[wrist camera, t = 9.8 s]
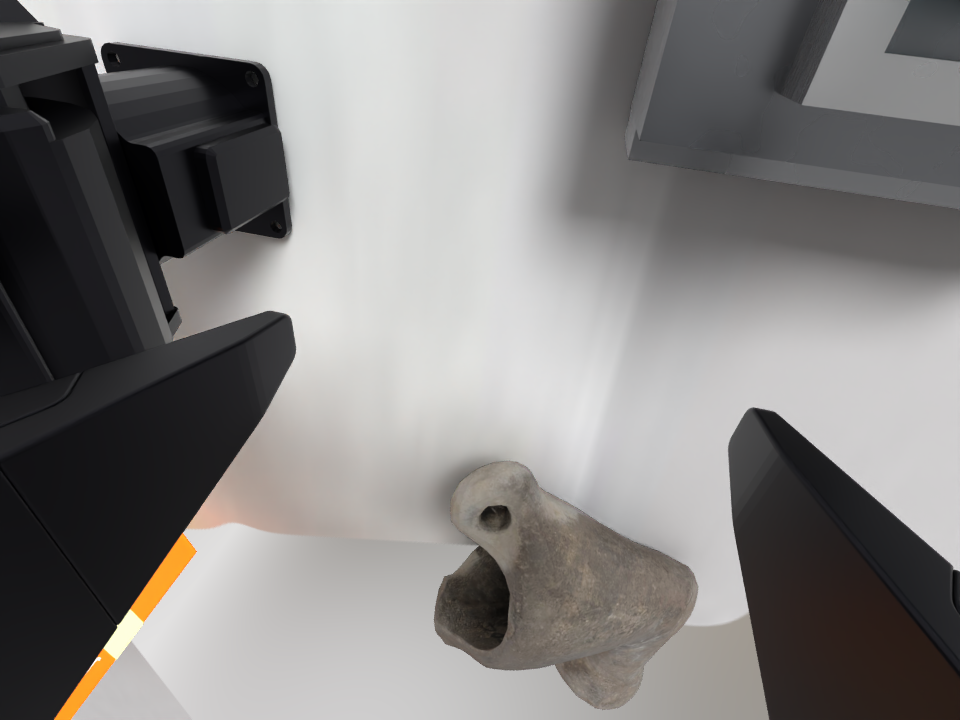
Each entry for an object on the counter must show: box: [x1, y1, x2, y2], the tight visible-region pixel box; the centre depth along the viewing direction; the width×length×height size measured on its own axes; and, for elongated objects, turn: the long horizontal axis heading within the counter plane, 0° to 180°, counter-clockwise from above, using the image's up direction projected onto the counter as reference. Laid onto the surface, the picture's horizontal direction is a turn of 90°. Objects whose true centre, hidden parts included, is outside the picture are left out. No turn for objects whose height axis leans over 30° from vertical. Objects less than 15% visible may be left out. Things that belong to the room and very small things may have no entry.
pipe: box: [434, 461, 698, 710], centre depth 28 cm, size 16×9×15 cm
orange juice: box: [54, 533, 197, 720], centre depth 32 cm, size 8×9×20 cm
